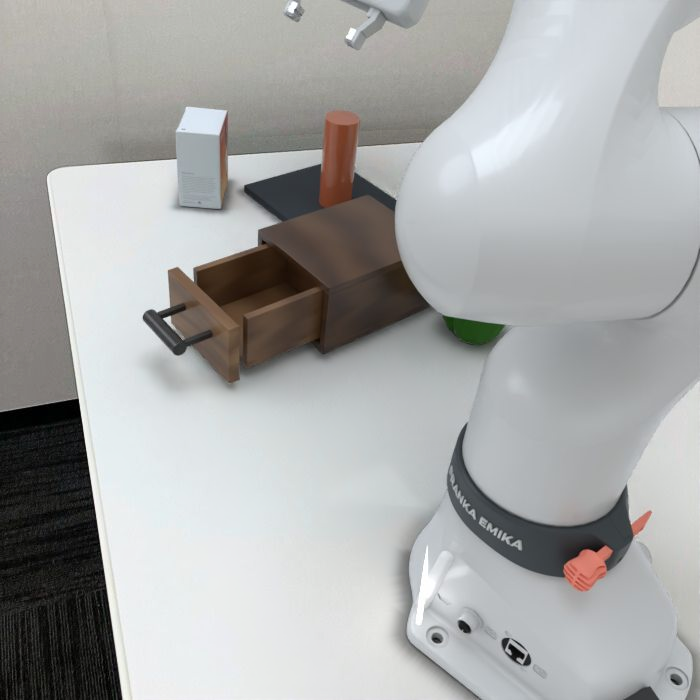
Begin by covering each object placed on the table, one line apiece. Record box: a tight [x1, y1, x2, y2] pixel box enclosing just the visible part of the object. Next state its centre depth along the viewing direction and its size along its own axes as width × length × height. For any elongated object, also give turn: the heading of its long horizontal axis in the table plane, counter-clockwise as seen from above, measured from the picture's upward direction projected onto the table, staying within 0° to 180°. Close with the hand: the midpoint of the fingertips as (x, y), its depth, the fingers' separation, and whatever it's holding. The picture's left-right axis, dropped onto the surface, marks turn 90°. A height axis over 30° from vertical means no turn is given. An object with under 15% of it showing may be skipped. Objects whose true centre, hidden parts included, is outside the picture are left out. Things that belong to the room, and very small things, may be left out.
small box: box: [174, 106, 229, 210], centre depth 101 cm, size 8×6×10 cm
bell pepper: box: [441, 314, 506, 346], centre depth 84 cm, size 8×8×10 cm
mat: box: [243, 163, 397, 222], centre depth 105 cm, size 20×16×1 cm
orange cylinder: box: [319, 109, 361, 208], centre depth 101 cm, size 4×4×12 cm
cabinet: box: [257, 195, 431, 355], centre depth 86 cm, size 16×13×9 cm
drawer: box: [142, 243, 324, 385], centre depth 79 cm, size 19×11×7 cm, turn 129°
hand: (320, 32), depth 92 cm, fingers open, 8 cm apart
